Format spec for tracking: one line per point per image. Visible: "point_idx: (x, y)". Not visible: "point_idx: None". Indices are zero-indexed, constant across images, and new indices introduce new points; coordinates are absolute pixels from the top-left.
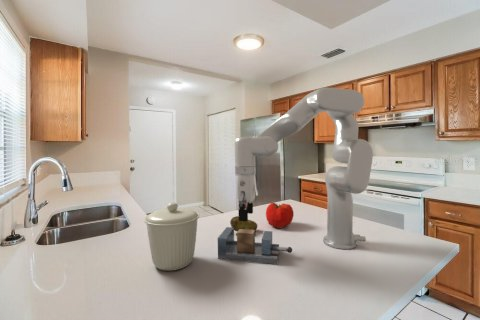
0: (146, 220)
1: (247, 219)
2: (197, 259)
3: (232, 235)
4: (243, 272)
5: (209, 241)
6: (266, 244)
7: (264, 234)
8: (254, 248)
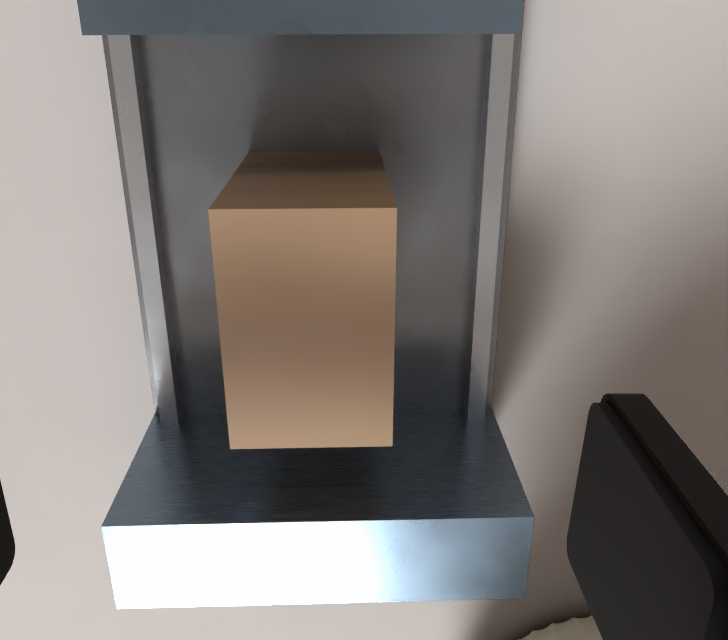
0: None
1: (652, 407)
2: None
3: (206, 474)
4: (706, 181)
5: (138, 621)
6: None
7: (265, 11)
8: (281, 153)
